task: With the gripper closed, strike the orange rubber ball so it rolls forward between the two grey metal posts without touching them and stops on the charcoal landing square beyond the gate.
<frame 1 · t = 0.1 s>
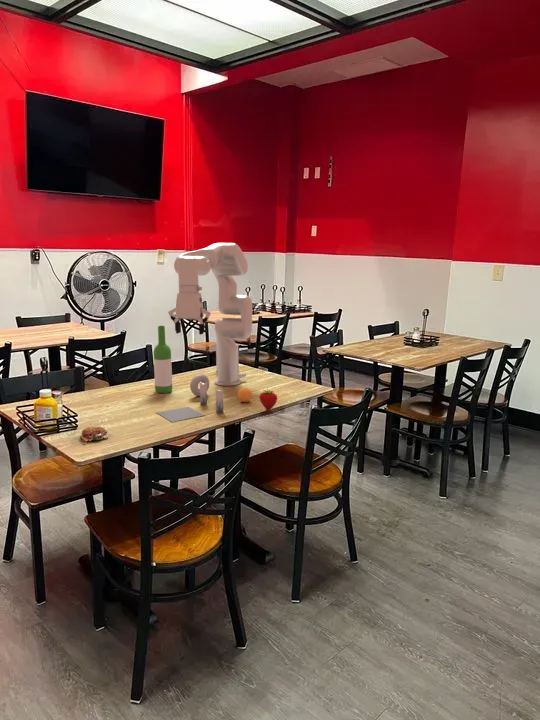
hand: (189, 333, 209), 31 cm above the table, tool pointing down, fingers open, 9 cm apart
ball: (244, 395, 226), on the table
wine bottle: (163, 392, 243), on the table
donut: (200, 396, 236), on the table
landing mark: (180, 414, 210), on the table
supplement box: (227, 372, 281), on the table
strawberry: (268, 411, 215), on the table
post 2: (219, 412, 212), on the table
hamburger: (92, 441, 182), on the table
post 1: (203, 404, 223), on the table
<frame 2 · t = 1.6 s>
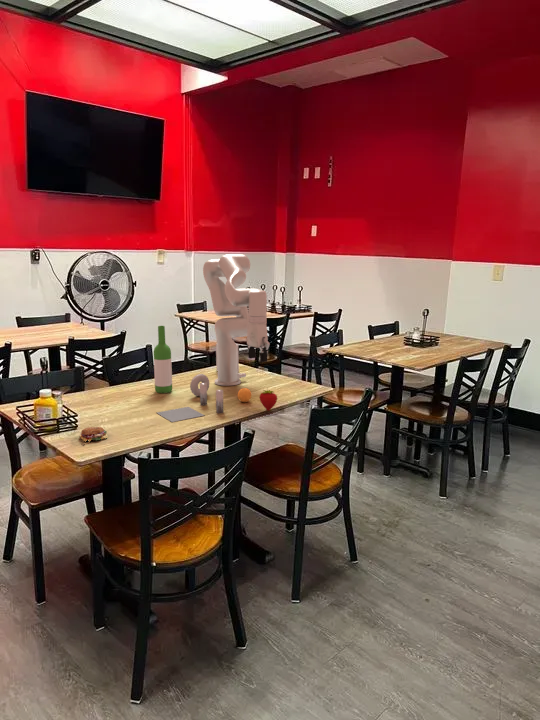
hand: (257, 359, 227), 17 cm above the table, tool pointing down, fingers open, 9 cm apart
nothing on the table moved.
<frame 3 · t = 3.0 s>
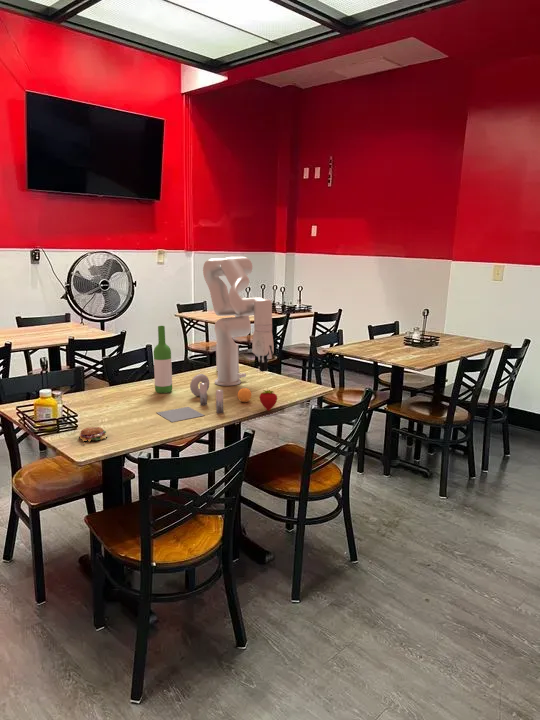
hand: (263, 370, 229), 12 cm above the table, tool pointing down, fingers closed
nothing on the table moved.
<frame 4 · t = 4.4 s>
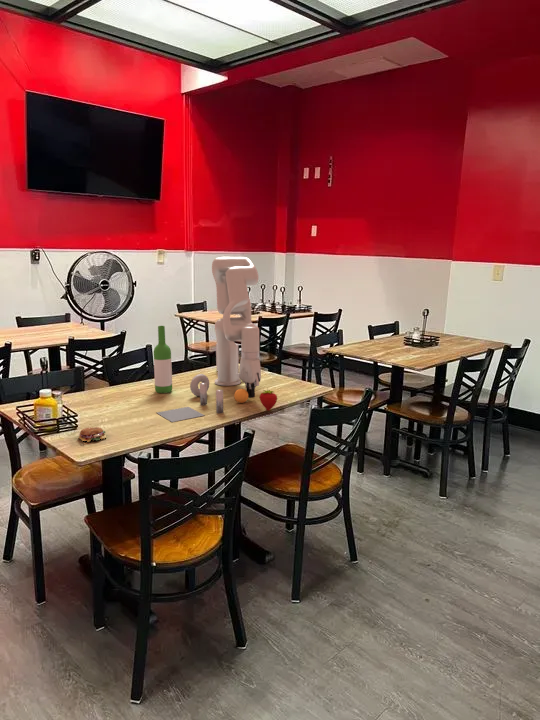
hand: (250, 397, 228), 2 cm above the table, tool pointing down, fingers closed
ball: (241, 395, 225), on the table
everything else where it was.
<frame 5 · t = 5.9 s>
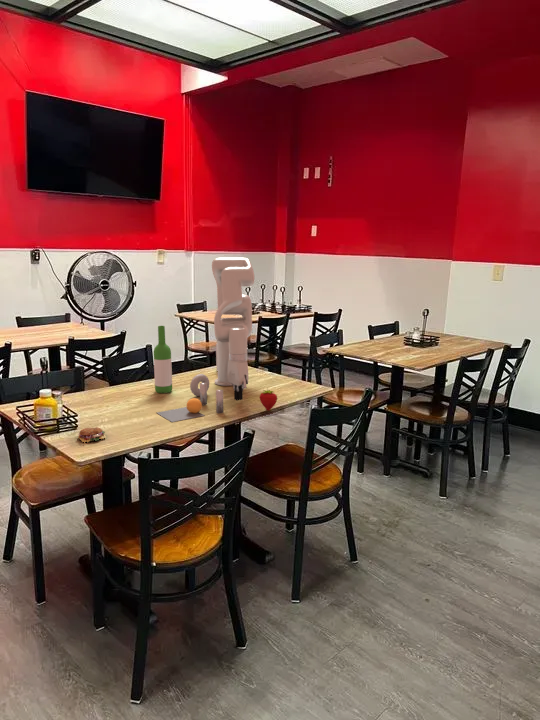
hand: (238, 399, 225), 2 cm above the table, tool pointing down, fingers closed
ball: (194, 405, 211), on the table
everything else where it was.
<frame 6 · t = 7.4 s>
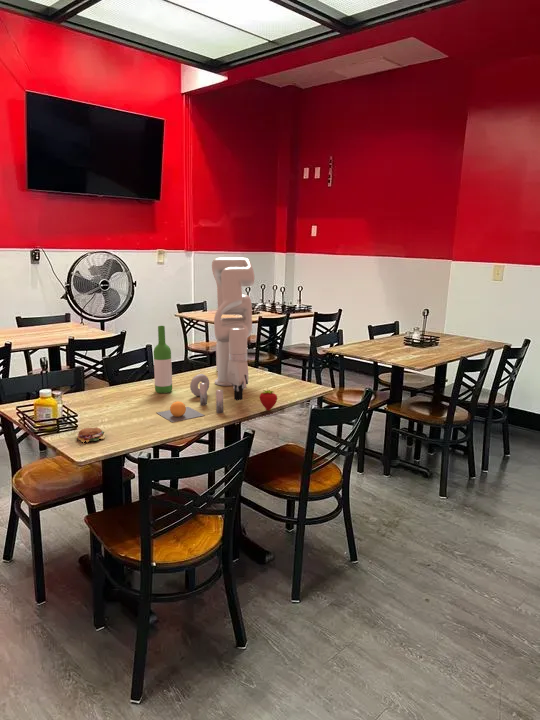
hand: (238, 399, 225), 2 cm above the table, tool pointing down, fingers closed
ball: (178, 409, 206), on the table
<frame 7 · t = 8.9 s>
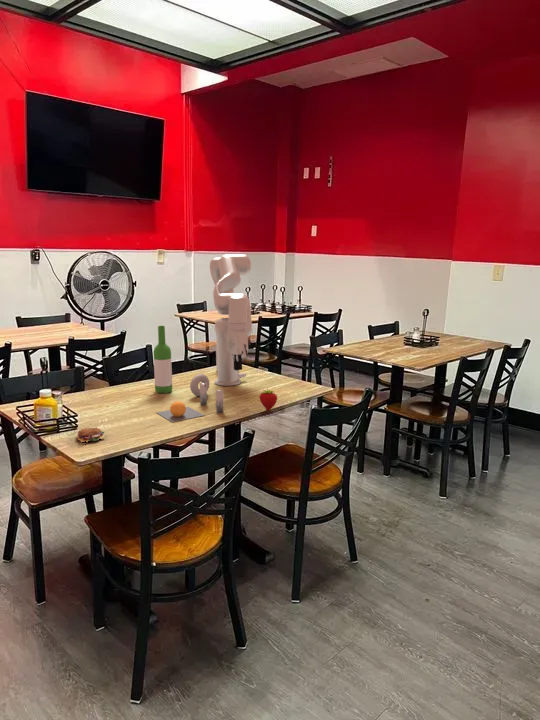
hand: (238, 369, 223), 14 cm above the table, tool pointing down, fingers closed
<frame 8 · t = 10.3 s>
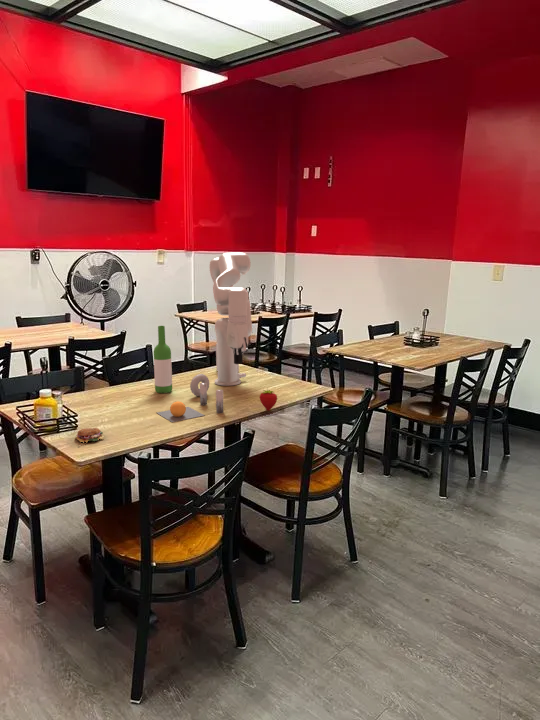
hand: (238, 363, 222), 17 cm above the table, tool pointing down, fingers closed
at the end: ball 2.8 cm from the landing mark (horizontally); ball never touched post 2; ball never touched post 1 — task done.
